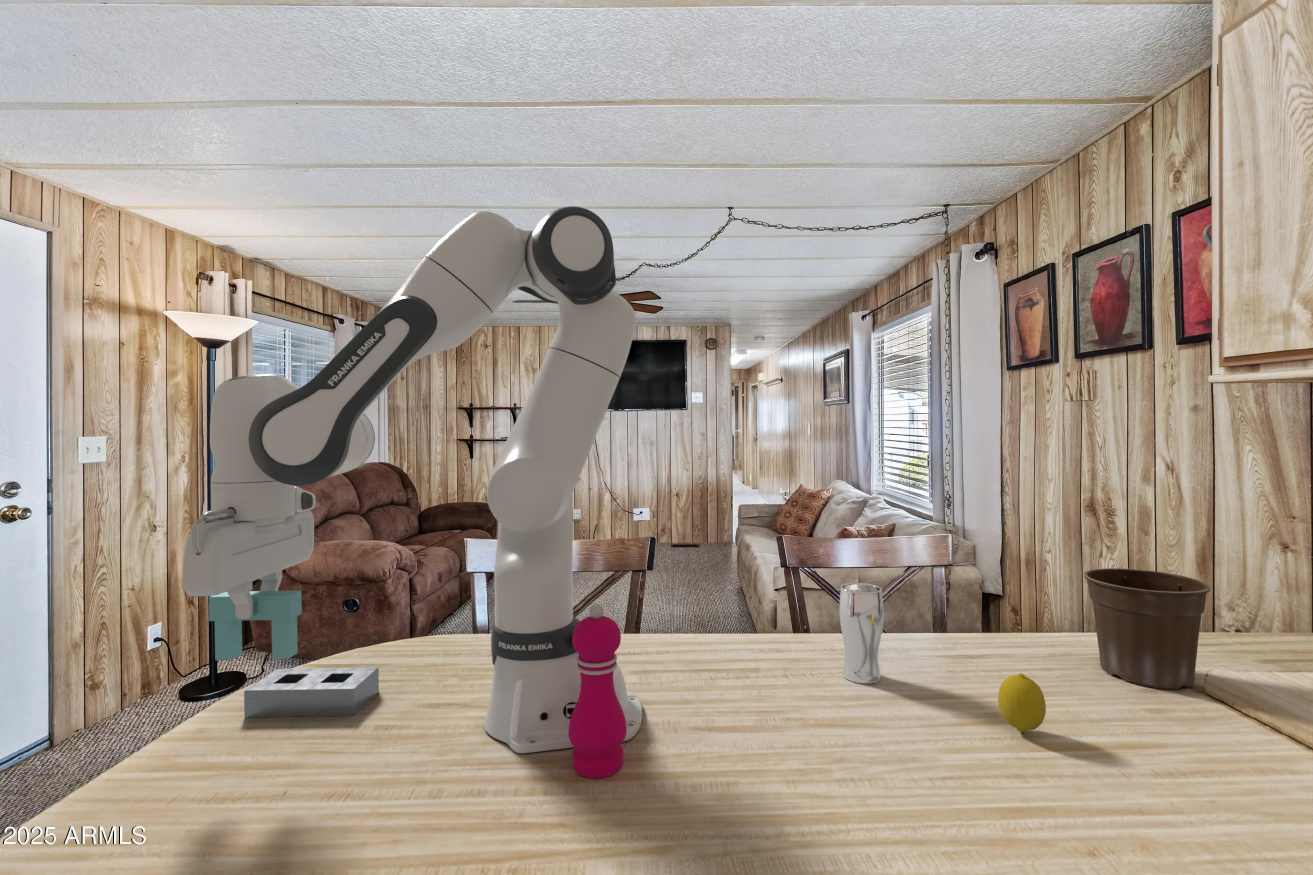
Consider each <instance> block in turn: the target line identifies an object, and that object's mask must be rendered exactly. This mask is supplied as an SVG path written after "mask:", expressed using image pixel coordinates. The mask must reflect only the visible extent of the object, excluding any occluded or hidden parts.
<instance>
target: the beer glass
mask: <svg viewBox="0 0 1313 875" xmlns="http://www.w3.org/2000/svg"><path fill="white" fill-rule="evenodd" d="M883 599H884V598H883V588H881V586H879V585H876V584H872V583H866V582H847V583H843V584H841V585H840V593H839V624H840V630H841V636H842V639H843V640H842V642H843V646H844V664H843V668H842V676H843V677H844V679H846V680H847V679H848V681H849V680H850V681H849V682H852V683H855V682H856V684H862V685H872V683H874V684H877V683H879V682H880V681H881V680H882V675H881V674H882V673H881V669H880V663H879V651H880V644H881V641H882V633H883V629H884V628H883V626H884V600H883ZM878 681H879V682H878ZM876 682H877V683H876Z"/></svg>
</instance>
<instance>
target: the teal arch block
mask: <svg viewBox="0 0 1313 875" xmlns="http://www.w3.org/2000/svg"><path fill="white" fill-rule="evenodd" d="M249 592H250V594H251V597H252V600H253V601H257V614H256V615H254V616H252V617H250V618H248V619H238V618H236V613H235V605H234V603H233V601H232V600H231V598H230V596H229V595H228V591H226V592H223V593H221V594H218V595H214V596H208V620H209V622H214V657H215V659H214V660H215V661H232V660H234V659H236V658H238V657H240V656H241V655H243V623H242V622H243V621H271V659H272V660H289V659H291V658H292V657H293V656H296V655H297V654H298V616H300V615H302V614H303V613H302V612H303V609H302V604H303V602H302V590H297V589H296V590H278V591H260V590H250V591H249Z"/></svg>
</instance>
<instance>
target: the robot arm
mask: <svg viewBox="0 0 1313 875" xmlns="http://www.w3.org/2000/svg"><path fill="white" fill-rule="evenodd" d="M614 252H615V250H614V241H613V238H612V235H611V232H610V229H609V228H608V226H607V224H606V223H605V221H604V220H603V219H602V218H601V217H600V216H599V215H597V214H596V213H595V212H594V211H592V210H589V209H588V208H584V207H580V206H572V205H571V206H563V207H559V208H557V209H554V210H552V211H550V212H549V213H547V214H545V216H544V217H542V219H540V221H539V222H538V224H537V225H536V227H535V229H533V230H523V229H521V228H519V227H516V226H515V225H514V224H513V223H512V222H511V221H510V220H508V219H507V218H505V217H503V215H500V214H498V213H495V212H492V211H486V210H483V211H477V212H473V213H472V214H470V215H469V216H468V217H466V218H464V220H462V221H461V222H459V223H458V224H457V225H456V226H455V227H454V228H452V229H451V230H450V231H449V232H448V233H447V234H445V236H443V237H442V238H441V239H440V240H439V241H438V242H437V243H436V244H435V245H434V246H433V247H432V248H431V250H430V251H429V252H428V253H426V255H425V256H424V257H423V258H422V259H421V260H420V261H419V263H418V264H417V265H416V266H415V267H414V269H413V270H412V271H411V272H410V273H409V275H408V276H407V277H406V278H405V280H404V281H403V282H402V283H401V285H400V286H399V287H398V288H397V289H396V292H394V293H393V295H392V296H391V297H390V299H389V300H388V301H387V302H386V303H385V304H384V305H383V306H382V308H381V310H379V312H378V313H376V315H375V316H374V317H373V318H371V319H370V321H369V322H368V323H366V324H365V326H363V327H362V329H360V330H359V332H358V333H356V335H355V336H354V337H352V339H351V340H350V341H349V342H347V343H346V345H345V346H344V347H343V348H341V350H340V351H339V352H338V353H337V354H336V355H335V356H334V357H333V358H332V359H331V360H330V361H329V362H328V363H327V364H326V365H325V366H324V367H323V368H322V369H321V370H320V371H319V372H318V373H317V374H316V375H315V376H314V377H313V378H312V379H310V380H309V381H308V382H307V383H306V384H304V385H302V386H298V385H296V384H294V383H293V382H291V381H290V380H289V379H288V378H287V377H285V376H283V375H279V374H274V373H272V374H271V373H263V374H257V373H256V374H247V375H241V376H236V377H233V378H232V377H231V378H229V379H227V380H225V381H222V383H220V384H219V385H217V387H216V389H215V391H214V393H213V397H212V402H211V409H210V421H209V447H210V451H211V454H212V456H213V462H214V466H213V471H212V474H211V477H210V505H211V506H210V509H211V510H210V511H207V512H204V513H202V514H200V515H199V517H198V518H197V520H196V521H195V522H194V524H193V525H192V526H191V528H190V533H189V534H188V537H187V539H186V542H185V547H184V553H183V554H184V555H183V562H182V578H181V579H182V582H181V583H182V584H181V585H182V588H183V590H184V592H185V593H186V594H187V595H188V596H190V597H210V596H214V595H218V594H221V593H223V592H228V595H229V596H230V598H231V600H232V601H233V603H234V605H235V613H236V618H238V619H248V618H250V617H252V616H254V615H256V614H257V601H253V600H252V597H251V594H250V592H249V591H253V582H254V581H257V580H259V581H262V582H261V585H260V589H259V591H279V588H280V585H281V583H282V580H283V571H284V570H285V569H288V568H290V567H293V566H295V565H298V564H301V563H304V562H306V561H309V560H310V558H311V557H312V554H313V552H314V547H315V546H314V545H315V518H314V514H313V511H311V510H313V509H314V508H316V503H317V501H316V495H315V494H314V493H312V492H310V491H307V490H305V489H303V488H300V487H299V486H308V485H312V484H316V483H318V482H320V481H321V482H322V480H325V479H326V478H330V477H334V476H338V475H340V474H345V473H347V472H349V471H352V470H354V469H356V468H358V467H360V466H361V465H362V464H364V463H365V462H366V461H367V460H368V459H369V457H370V456H371V454H372V452H373V449H374V448H375V447H374V446H375V442H376V434H375V429H374V426H373V424H372V422H371V421H370V419H369V418H368V416H367V415H366V414H364V413H365V412H366V411H367V410H368V409H369V408H370V407H371V406H372V405H373V404H374V402H376V400H377V399H378V398H379V397H380V396H381V395H382V393H384V392H385V390H386V389H388V387H389V386H390V385H391V384H392V383H393V382H394V380H396V378H397V377H398V376H399V375H400V374H401V373H402V372H403V371H404V370H406V368H408V367H409V366H410V365H412V364H414V363H415V362H417V361H418V360H420V359H423V358H425V357H427V356H429V355H432V354H436V353H440V352H443V351H450V350H453V349H455V348H458V347H459V346H460V345H462V344H463V343H465V342H466V341H467V340H468V339H470V337H472V336H473V335H474V334H475V333H476V332H477V331H478V330H480V329H481V327H483V326H484V325H485V323H486V322H488V320H489V319H490V317H491V316H492V315H493V314H494V312H496V310H497V309H498V308H499V307H500V305H501V304H502V303H503V301H505V300H506V299H507V298H508V296H509V295H511V293H513V292H514V291H515V290H520V291H522V292H524V293H526V294H529V295H531V296H533V297H535V298H537V299H539V300H541V301H543V302H546V303H550V304H556V305H557V304H558V308H559V322H558V324H557V329H556V331H555V334H554V336H553V338H552V341H551V343H550V345H549V348H548V349H547V352H546V354H545V357H544V358H543V359H544V360H543V362H542V364H541V366H540V368H539V371H538V374H537V376H536V378H535V381H534V383H533V385H532V387H531V390H530V391H529V392H530V393H529V395H528V397H527V399H526V401H525V403H524V406H523V407H522V410H521V411H520V413H519V415H518V417H517V418H516V421H515V423H514V425H513V427H512V429H511V431H510V433H509V434H508V437H507V439H506V440H505V443H504V445H503V447H502V449H501V452H500V453H499V456H498V457H497V459H496V462H495V464H494V466H493V469H492V471H491V473H490V474H489V475H490V476H489V477H488V481H487V484H486V500H487V505H488V508H489V510H490V512H491V513H492V515H493V517H494V518H495V519H496V521H497V522H498V526H497V527H498V529H497V530H498V531H497V542H496V543H497V544H496V553H495V554H496V555H495V563H494V569H493V570H494V571H493V572H494V623H493V624H492V625H491V634H490V647H491V648H490V652H491V653H490V656H491V661H492V665H493V677H492V684H491V691H490V692H491V693H490V699H489V704H488V707H487V712H486V716H485V718H484V721H483V722H484V723H483V725H484V726H483V727H484V729H485V731H486V733H487V734H488V735H490V736H491V737H492V738H494V739H497V740H498V741H501V742H503V743H505V744H507V745H508V747H510V749H511V750H512V751H513V752H515V753H517V754H527V753H528V754H529V753H536V752H537V753H538V752H546V751H553V750H561V749H562V750H563V749H569V748H570V749H571V748H575V747H574V746H573V745H572V743H571V742H570V739H569V735H568V732H569V722H570V719H571V715H572V713H573V710H574V708H575V706H576V704H577V701H578V699H579V695H580V690H581V674H580V671H578V670H577V664H578V662H577V657H578V655H579V654H578V653H577V652H576V650H575V649H574V646H573V642H572V637H573V632H574V629H575V627H576V625H577V624H578V623H579V622H580V621H581V620H580V619H578V618H577V617H575V616H574V595H573V594H574V593H573V591H574V590H573V588H574V587H573V586H574V585H573V584H574V583H573V579H574V578H573V577H574V576H573V574H574V573H573V545H574V544H573V542H574V541H573V540H574V538H573V537H574V536H573V534H574V532H573V530H574V529H573V525H574V523H573V521H574V520H573V516H574V512H573V511H574V507H573V505H574V504H573V500H574V499H573V498H574V496H573V495H574V490H575V489H576V487H577V483H578V481H579V479H580V476H581V474H582V471H583V469H584V467H585V465H586V462H587V459H588V456H589V455H590V452H591V450H592V447H593V445H594V442H595V439H596V437H597V435H598V432H599V430H600V427H601V424H602V422H603V421H604V417H605V416H606V414H607V413H606V412H607V410H608V408H609V405H610V403H611V400H612V397H613V396H614V393H615V391H616V388H617V386H618V384H619V381H620V379H621V377H622V373H623V370H624V368H625V366H626V363H627V360H628V356H629V354H630V349H631V347H632V346H631V345H632V342H633V339H634V334H635V328H636V324H637V323H636V321H637V319H636V318H637V317H636V313H635V310H634V307H632V305H631V303H629V301H627V299H625V298H624V297H623V296H622V295H620V294H619V293H617V292H615V291H613V289H614V288H615V286H616V284H617V277H616V276H617V275H616V268H615V253H614ZM613 682H614V689H615V693H616V696H617V698H618V701H619V703H620V705H621V707H622V710H623V712H624V716H625V719H626V727H627V733H626V737H625V738H624V740H623V742H626V741H629V740H631V739H633V737H635V735H636V734H637V733H638V732H639V730H640V728H641V726H642V722H643V708H642V702H641V699H640V698H639V697H638V695H636V693H634V692H633V691H631V690H627V685H626V682H625V678H624V674H623V672H622V670H621V668H620V666H619V665H618V664H617V668H616V669H615V670H614V674H613Z"/></svg>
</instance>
